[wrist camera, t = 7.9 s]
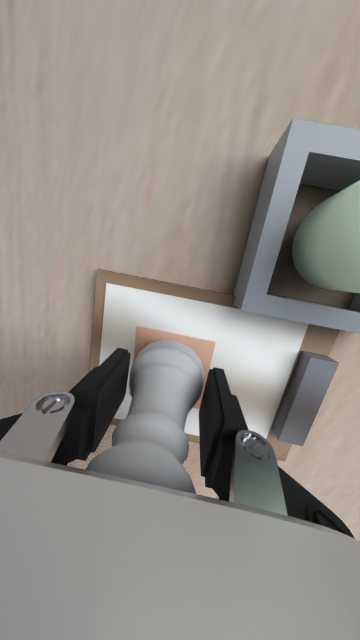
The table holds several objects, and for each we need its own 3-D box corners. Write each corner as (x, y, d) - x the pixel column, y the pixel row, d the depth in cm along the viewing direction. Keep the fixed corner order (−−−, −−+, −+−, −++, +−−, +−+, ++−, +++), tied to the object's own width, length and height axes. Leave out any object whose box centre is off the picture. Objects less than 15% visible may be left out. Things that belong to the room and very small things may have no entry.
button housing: (269, 155, 10) (293, 118, 8) (421, 182, 10) (496, 152, 7) (231, 302, 12) (240, 310, 10) (357, 327, 12) (400, 341, 9)
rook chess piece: (155, 409, 13) (99, 610, 5) (122, 354, 12) (-4, 497, 4) (215, 384, 12) (254, 579, 4) (184, 324, 11) (164, 435, 4)
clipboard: (101, 269, 12) (88, 268, 11) (337, 315, 12) (358, 321, 10) (90, 413, 15) (77, 429, 13) (281, 453, 14) (291, 475, 13)
